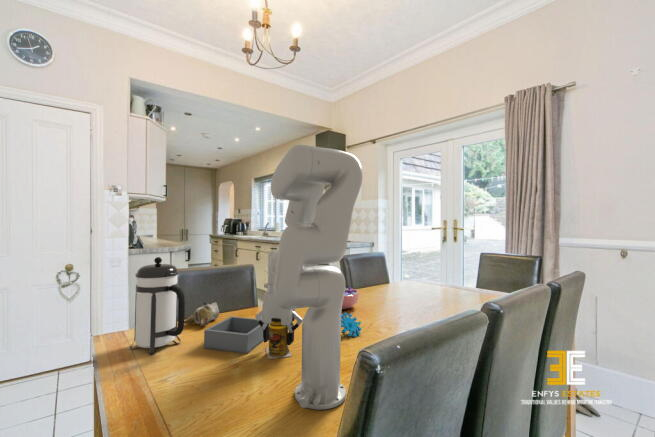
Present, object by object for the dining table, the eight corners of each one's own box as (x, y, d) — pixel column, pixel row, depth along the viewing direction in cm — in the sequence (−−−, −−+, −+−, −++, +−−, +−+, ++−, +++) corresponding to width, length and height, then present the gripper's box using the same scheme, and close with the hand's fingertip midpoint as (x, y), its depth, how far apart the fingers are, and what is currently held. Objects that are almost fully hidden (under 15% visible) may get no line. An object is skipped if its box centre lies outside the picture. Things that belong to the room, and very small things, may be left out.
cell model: (365, 306, 157) (366, 284, 157) (347, 315, 140) (347, 291, 140) (337, 301, 166) (337, 280, 166) (316, 309, 149) (317, 286, 149)
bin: (247, 354, 97) (247, 335, 97) (203, 348, 101) (204, 330, 101) (269, 336, 113) (269, 320, 113) (230, 331, 117) (231, 316, 117)
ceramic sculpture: (226, 299, 132) (201, 310, 118) (226, 318, 132) (202, 332, 118) (205, 297, 135) (179, 308, 121) (206, 316, 136) (180, 329, 121)
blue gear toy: (346, 336, 109) (336, 311, 116) (337, 344, 112) (328, 320, 119) (368, 334, 116) (357, 311, 122) (359, 342, 119) (349, 319, 125)
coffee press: (120, 359, 92) (123, 260, 93) (138, 340, 108) (140, 255, 108) (183, 353, 97) (185, 259, 97) (191, 335, 112) (193, 254, 113)
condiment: (268, 359, 94) (269, 320, 94) (265, 348, 102) (266, 312, 102) (291, 356, 96) (292, 318, 96) (287, 346, 104) (287, 311, 104)
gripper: (249, 288, 98) (248, 343, 98) (300, 292, 93) (299, 350, 93) (260, 284, 105) (259, 335, 105) (308, 287, 101) (307, 341, 100)
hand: (278, 341), depth 99 cm, fingers open, 7 cm apart
